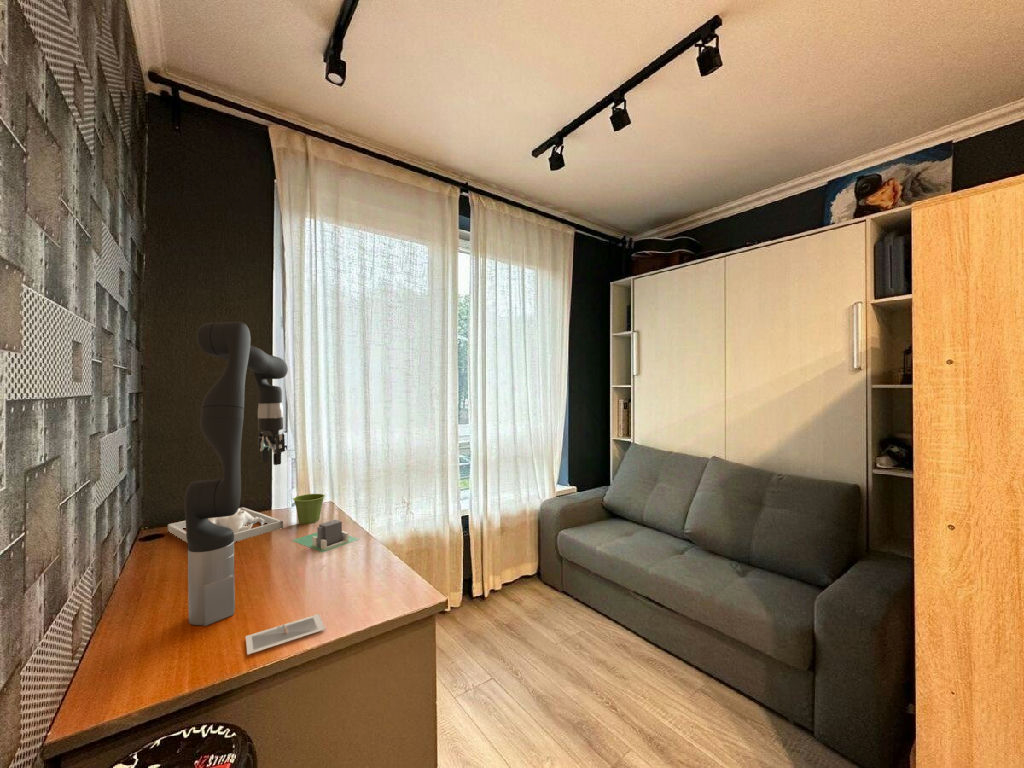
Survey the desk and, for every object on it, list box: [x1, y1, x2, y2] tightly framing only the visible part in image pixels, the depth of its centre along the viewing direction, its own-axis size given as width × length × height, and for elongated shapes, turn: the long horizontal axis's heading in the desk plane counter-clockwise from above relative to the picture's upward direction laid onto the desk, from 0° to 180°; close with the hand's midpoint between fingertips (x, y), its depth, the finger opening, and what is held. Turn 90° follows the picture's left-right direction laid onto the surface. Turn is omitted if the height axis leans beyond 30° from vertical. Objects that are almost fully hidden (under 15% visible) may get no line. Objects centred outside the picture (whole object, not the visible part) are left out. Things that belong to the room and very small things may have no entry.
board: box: [291, 530, 360, 554], centre depth 147 cm, size 20×14×4 cm
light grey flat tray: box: [167, 506, 284, 543], centre depth 163 cm, size 36×27×3 cm
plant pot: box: [292, 493, 326, 525], centre depth 168 cm, size 12×12×11 cm
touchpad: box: [245, 613, 326, 656], centre depth 92 cm, size 8×15×2 cm, turn 125°
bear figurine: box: [209, 509, 265, 533], centre depth 160 cm, size 17×14×20 cm
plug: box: [316, 519, 343, 546], centre depth 143 cm, size 4×7×7 cm, turn 145°
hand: (271, 463), depth 141 cm, fingers open, 8 cm apart
